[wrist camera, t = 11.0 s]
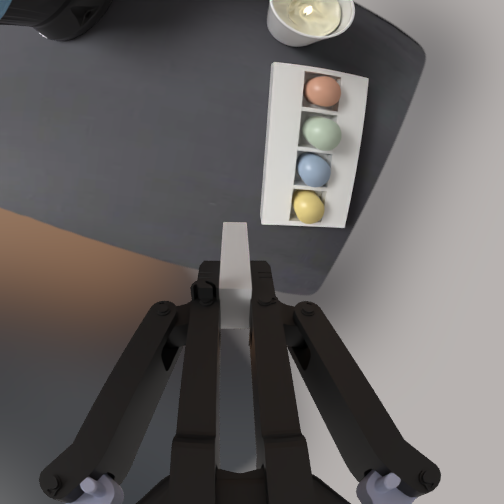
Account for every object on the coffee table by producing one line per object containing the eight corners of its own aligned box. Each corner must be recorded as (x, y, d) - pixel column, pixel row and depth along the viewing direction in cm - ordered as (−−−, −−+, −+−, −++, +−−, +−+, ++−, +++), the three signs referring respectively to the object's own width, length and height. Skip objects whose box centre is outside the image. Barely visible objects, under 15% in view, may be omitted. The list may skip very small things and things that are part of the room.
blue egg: (296, 150, 41) (303, 156, 37) (324, 153, 41) (332, 160, 38) (293, 177, 44) (299, 186, 40) (320, 179, 44) (328, 188, 40)
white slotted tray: (271, 64, 35) (274, 62, 32) (359, 78, 36) (368, 78, 33) (260, 215, 48) (261, 224, 45) (338, 218, 49) (344, 227, 46)
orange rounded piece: (303, 75, 35) (311, 73, 31) (332, 80, 35) (342, 79, 31) (301, 102, 37) (308, 104, 33) (329, 106, 37) (339, 109, 34)
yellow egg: (292, 186, 44) (298, 196, 41) (319, 188, 45) (326, 198, 41) (289, 211, 47) (294, 223, 43) (315, 212, 47) (321, 224, 43)
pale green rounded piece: (303, 114, 36) (311, 116, 32) (332, 118, 37) (343, 121, 33) (300, 142, 39) (307, 149, 35) (329, 146, 39) (339, 152, 35)
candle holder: (338, 34, 32) (371, 19, 21) (288, 62, 34) (306, 52, 24) (299, -12, 27) (319, -41, 17) (247, 16, 30) (251, -9, 20)
